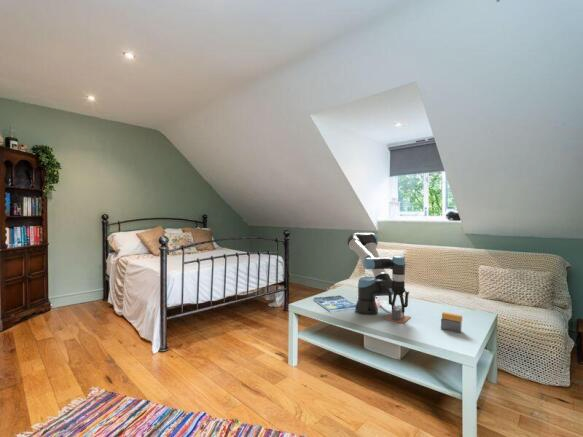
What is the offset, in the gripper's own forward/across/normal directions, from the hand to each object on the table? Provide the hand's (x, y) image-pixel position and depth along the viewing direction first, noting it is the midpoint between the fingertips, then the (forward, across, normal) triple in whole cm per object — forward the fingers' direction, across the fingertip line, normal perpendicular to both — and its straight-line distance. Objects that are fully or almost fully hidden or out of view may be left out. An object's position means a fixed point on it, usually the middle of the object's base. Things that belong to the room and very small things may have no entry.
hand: (398, 316), depth 197 cm
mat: (+1, 0, 0) cm, 1 cm away
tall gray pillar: (0, 0, 0) cm, 0 cm away
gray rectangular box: (+1, +31, 0) cm, 31 cm away
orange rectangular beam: (-5, +31, 0) cm, 32 cm away
